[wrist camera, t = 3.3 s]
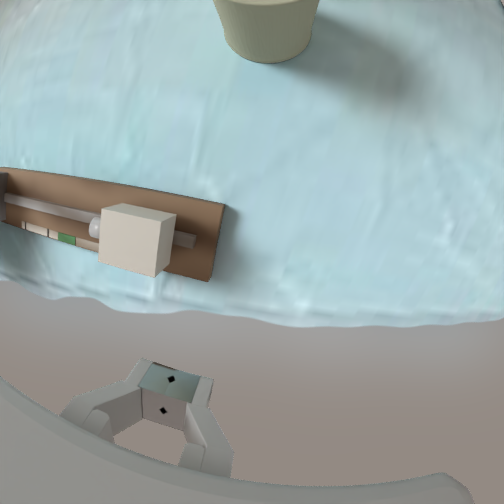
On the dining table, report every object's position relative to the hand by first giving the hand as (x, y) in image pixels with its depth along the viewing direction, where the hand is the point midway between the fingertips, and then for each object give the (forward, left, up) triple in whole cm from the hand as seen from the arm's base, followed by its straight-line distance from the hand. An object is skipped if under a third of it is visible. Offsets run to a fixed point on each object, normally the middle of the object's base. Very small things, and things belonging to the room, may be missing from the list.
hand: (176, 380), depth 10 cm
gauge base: (0, -20, -20) cm, 28 cm away
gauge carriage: (+1, -10, -18) cm, 21 cm away
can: (-24, -2, -20) cm, 32 cm away
